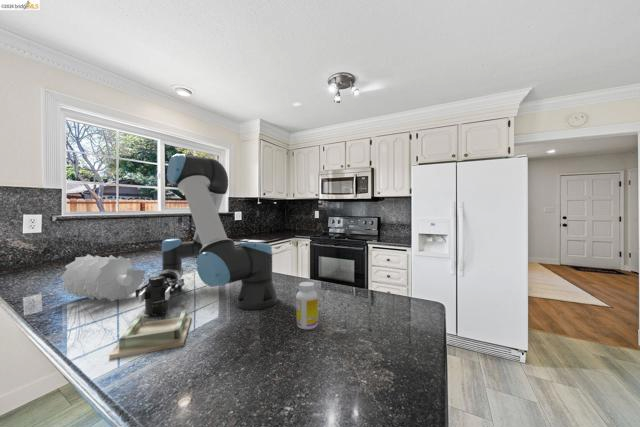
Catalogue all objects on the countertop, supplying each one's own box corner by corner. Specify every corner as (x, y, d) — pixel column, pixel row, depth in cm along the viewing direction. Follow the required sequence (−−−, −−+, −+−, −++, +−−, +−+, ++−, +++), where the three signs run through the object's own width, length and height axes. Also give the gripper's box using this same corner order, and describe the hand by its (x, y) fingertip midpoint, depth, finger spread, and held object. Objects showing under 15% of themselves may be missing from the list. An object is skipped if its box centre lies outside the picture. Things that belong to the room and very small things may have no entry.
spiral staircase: (116, 314, 99) (69, 305, 105) (153, 283, 114) (110, 277, 120) (94, 277, 91) (45, 270, 97) (137, 249, 106) (92, 244, 112)
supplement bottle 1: (157, 316, 84) (156, 280, 84) (140, 315, 85) (139, 279, 85) (173, 308, 91) (172, 275, 91) (157, 307, 92) (156, 274, 92)
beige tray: (133, 327, 79) (133, 315, 79) (191, 318, 84) (191, 308, 84) (109, 359, 62) (108, 344, 62) (183, 345, 68) (183, 332, 68)
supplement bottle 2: (321, 322, 81) (320, 281, 80) (313, 331, 74) (313, 288, 74) (301, 319, 83) (301, 280, 83) (292, 328, 77) (292, 286, 76)
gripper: (194, 286, 108) (187, 304, 87) (139, 292, 101) (117, 313, 80) (194, 268, 108) (186, 282, 87) (139, 273, 101) (116, 289, 80)
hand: (153, 297), depth 83 cm, fingers closed on supplement bottle 1, 7 cm apart
